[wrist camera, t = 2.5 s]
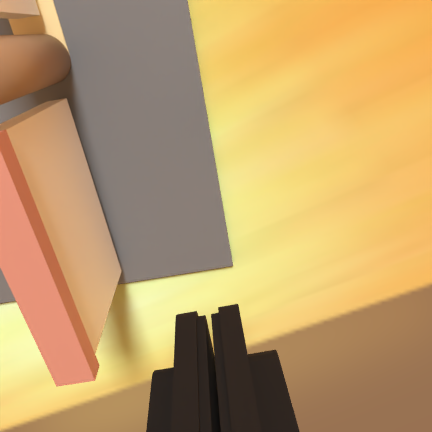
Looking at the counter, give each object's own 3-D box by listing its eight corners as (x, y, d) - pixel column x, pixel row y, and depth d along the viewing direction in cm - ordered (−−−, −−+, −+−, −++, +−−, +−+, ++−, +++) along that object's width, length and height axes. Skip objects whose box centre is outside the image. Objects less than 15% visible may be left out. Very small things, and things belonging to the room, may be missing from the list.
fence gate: (39, 100, 19) (-59, 144, 12) (72, 94, 19) (-6, 135, 12) (100, 275, 23) (56, 386, 16) (127, 271, 23) (94, 380, 16)
